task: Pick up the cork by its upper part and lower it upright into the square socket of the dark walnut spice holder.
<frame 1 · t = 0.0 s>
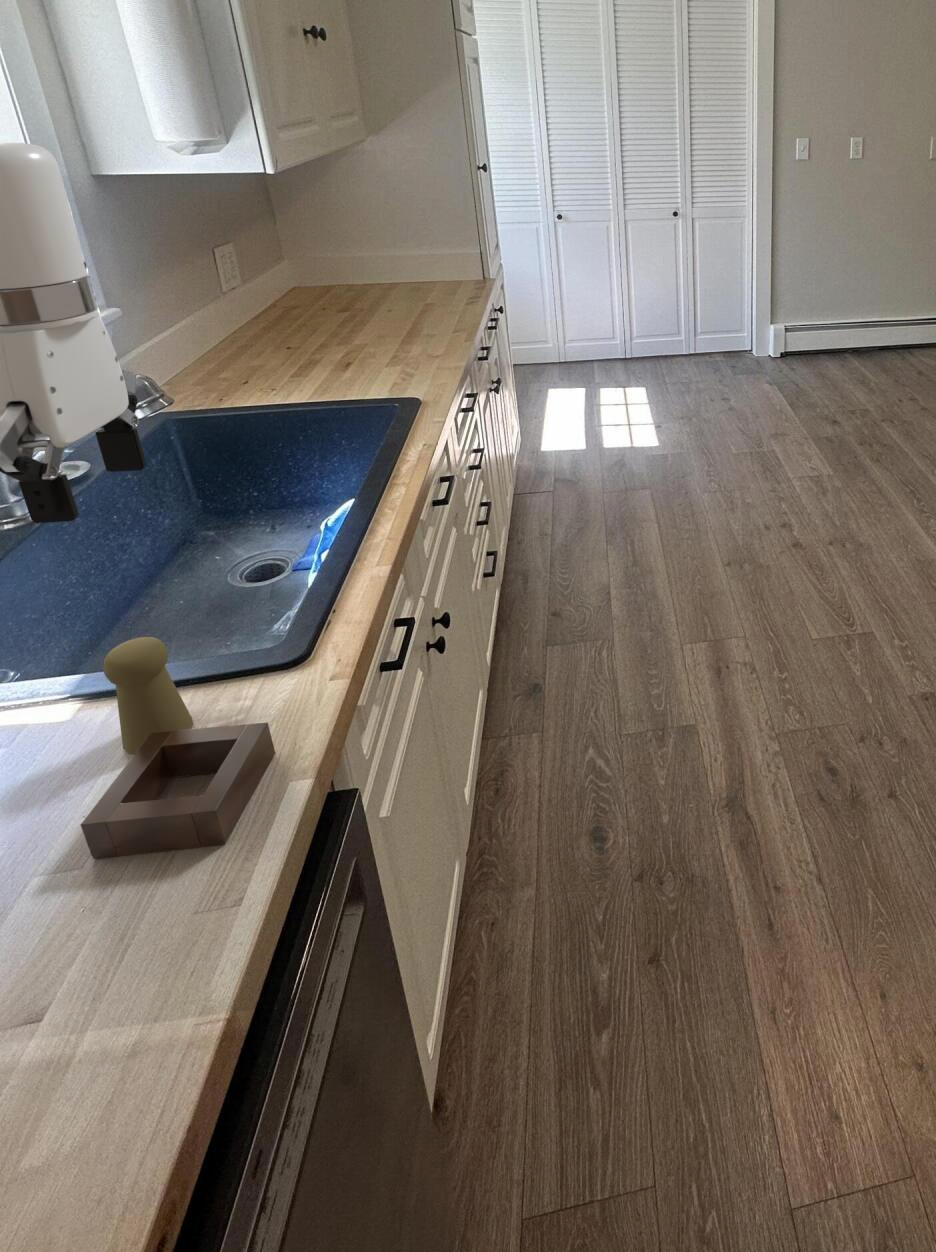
hand: (94, 493, 69), 30 cm above the counter, tool pointing down, fingers open, 9 cm apart
cork: (158, 734, 83), on the counter
spice holder: (191, 802, 75), on the counter
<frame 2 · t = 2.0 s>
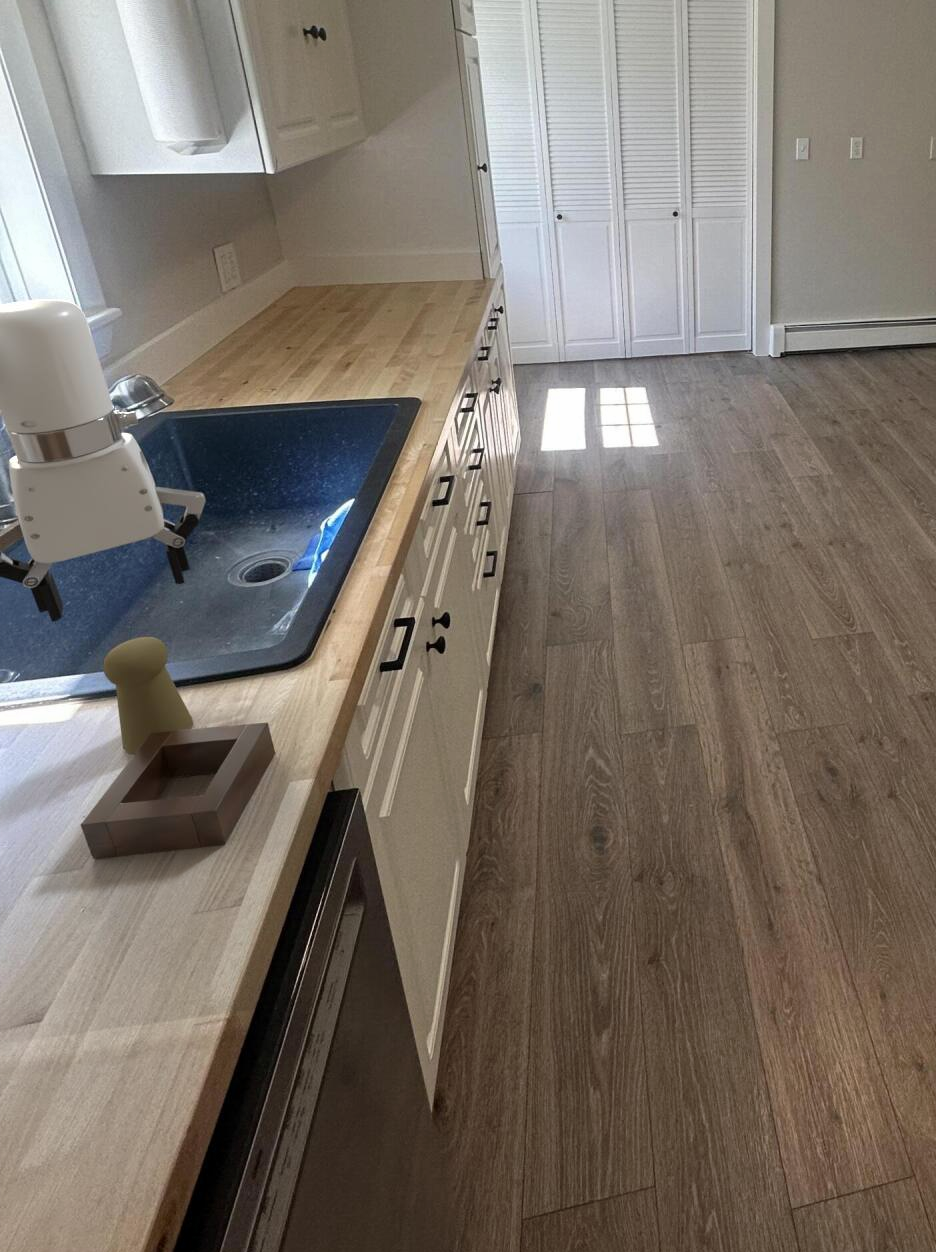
hand: (120, 595, 78), 17 cm above the counter, tool pointing down, fingers open, 9 cm apart
nothing on the counter moved.
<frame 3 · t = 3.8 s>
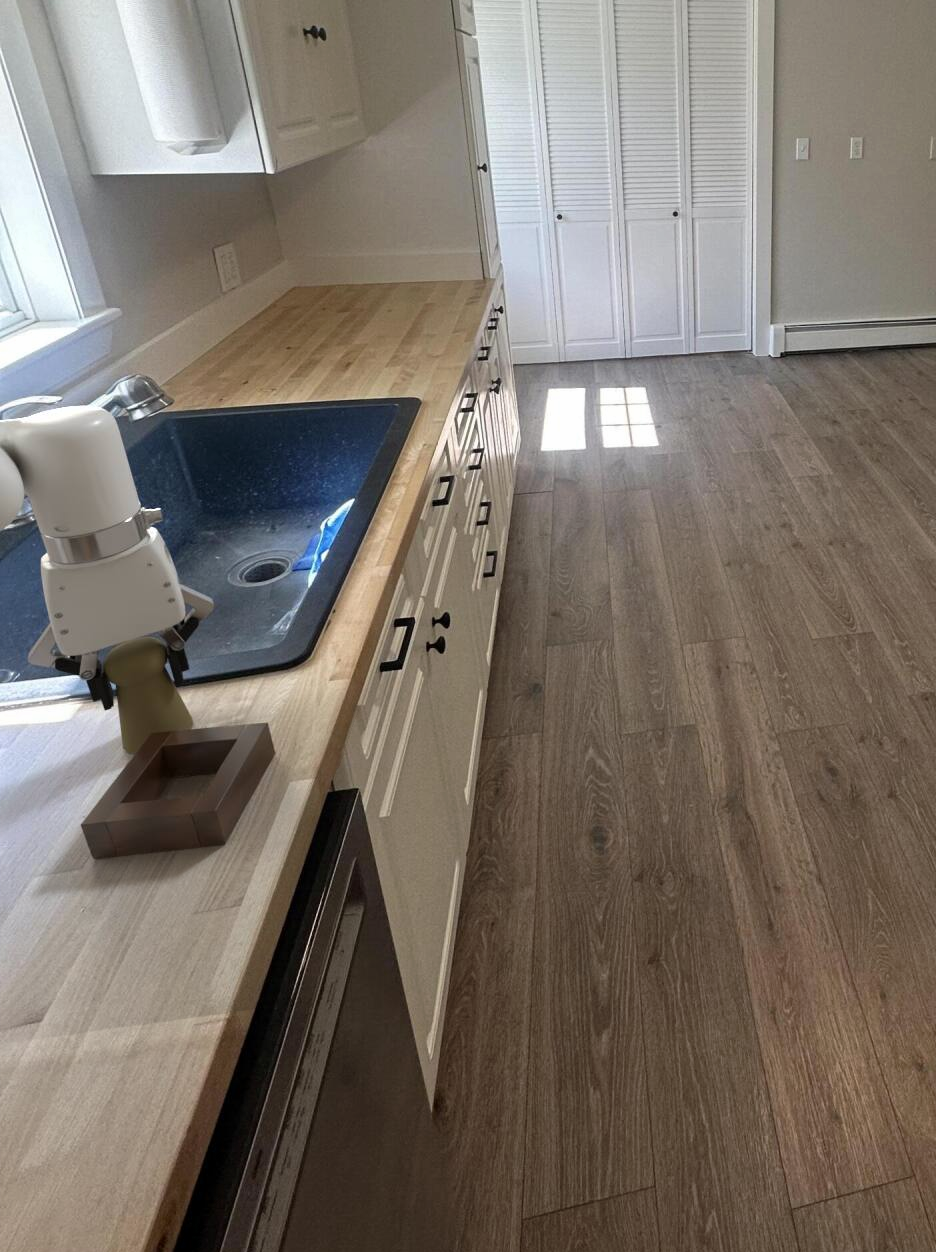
hand: (144, 688, 81), 6 cm above the counter, tool pointing down, fingers closed on cork, 5 cm apart
cork: (158, 734, 83), on the counter, touching gripper
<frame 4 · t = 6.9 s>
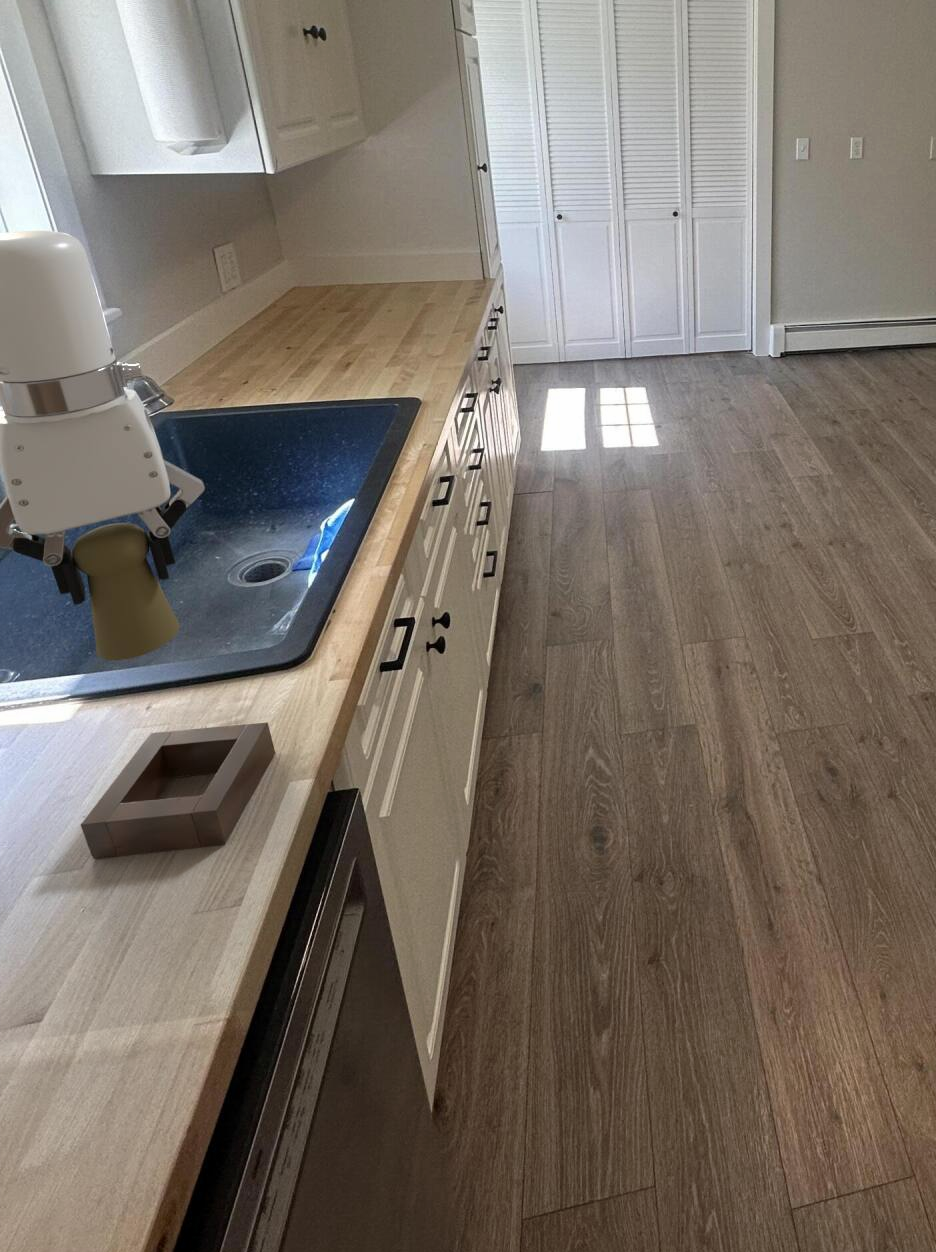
hand: (122, 582, 69), 23 cm above the counter, tool pointing down, fingers closed on cork, 5 cm apart
cork: (139, 640, 71), point 17 cm above the counter, touching gripper
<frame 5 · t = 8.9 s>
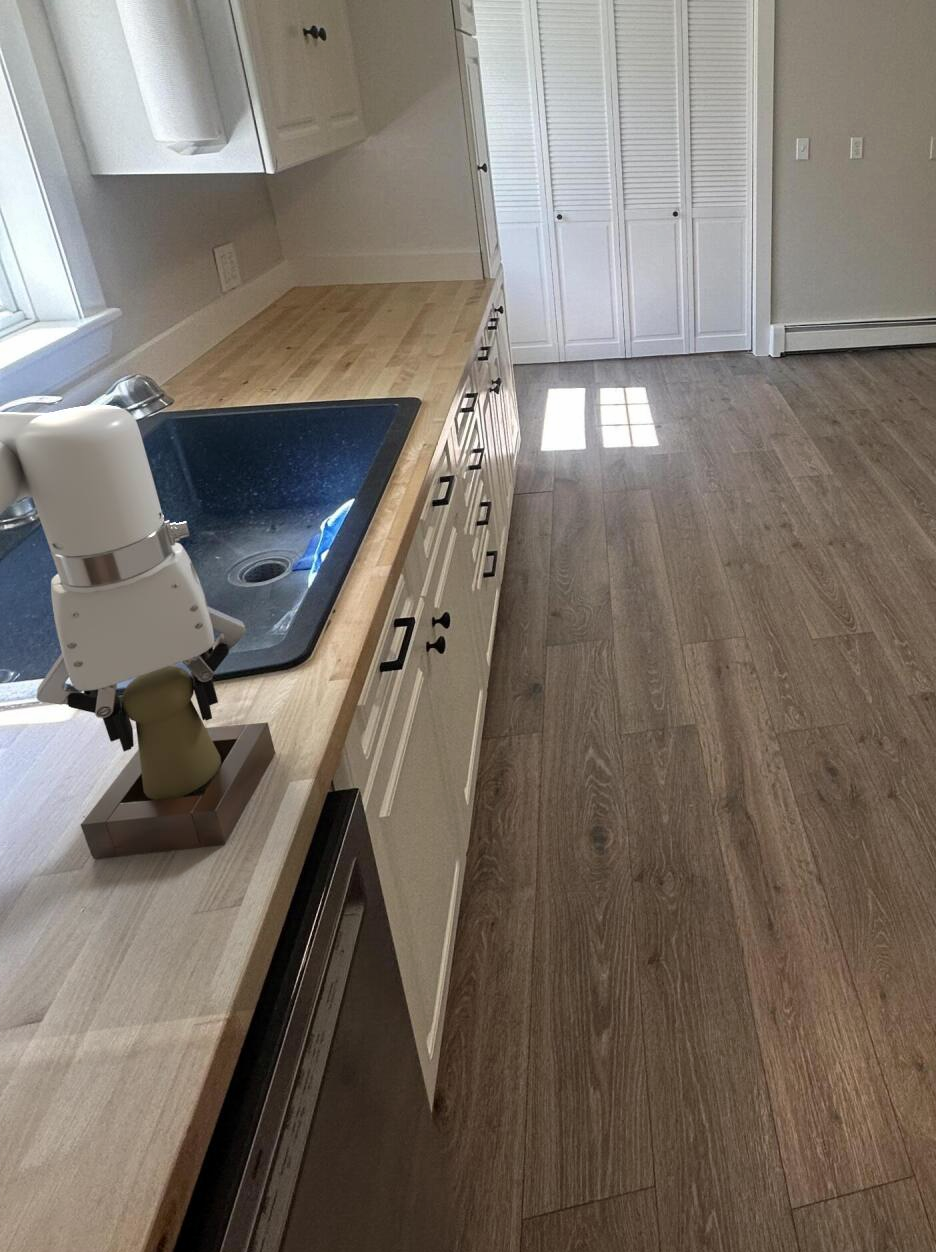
hand: (167, 724, 72), 9 cm above the counter, tool pointing down, fingers closed on cork, 5 cm apart
cork: (183, 775, 74), point 3 cm above the counter, touching gripper
when the fingers open (6 cm above the counter, at t = 10.4 s): cork stays where it is, resting in spice holder.
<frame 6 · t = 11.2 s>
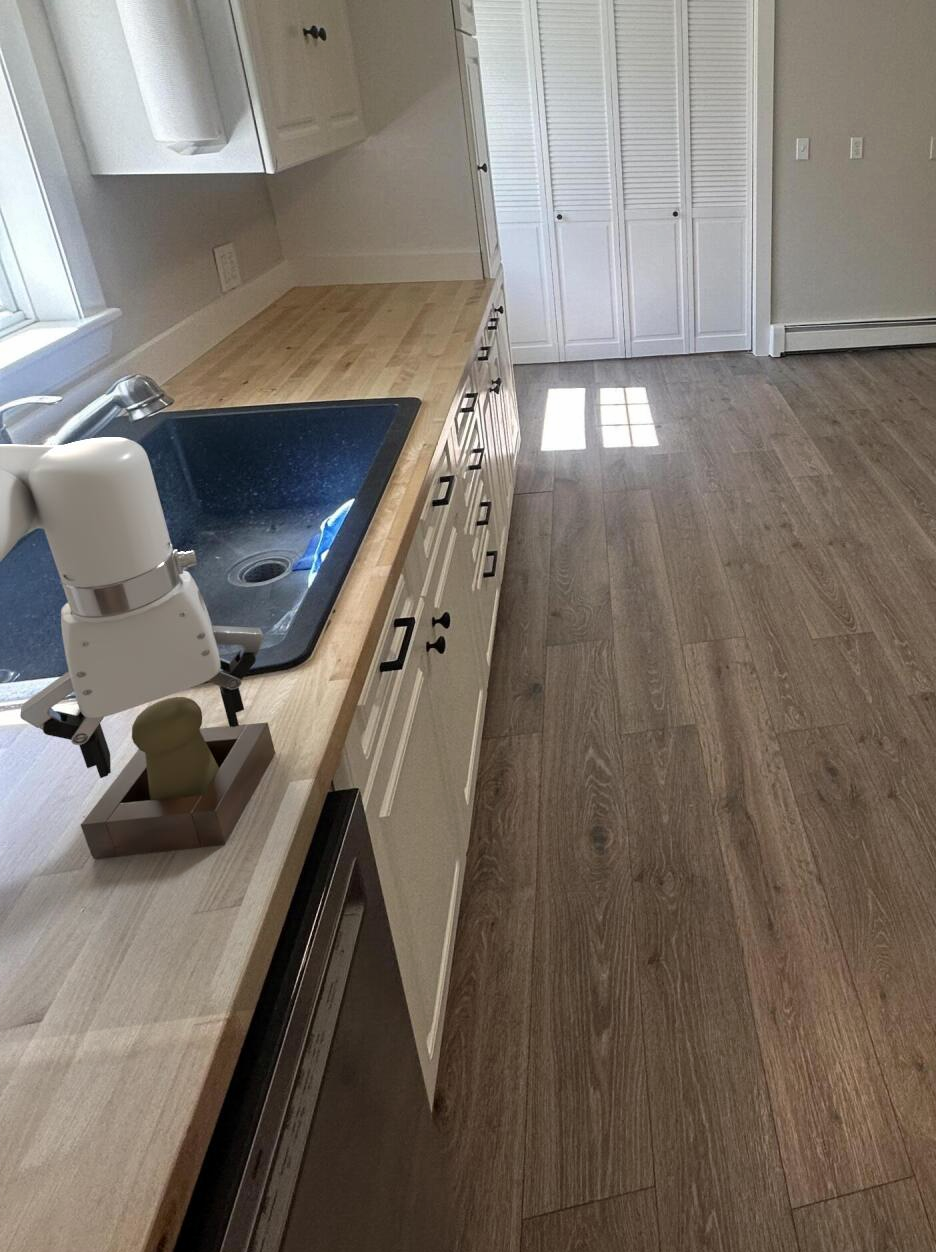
hand: (171, 741, 72), 7 cm above the counter, tool pointing down, fingers open, 9 cm apart
cork: (191, 804, 75), resting in spice holder
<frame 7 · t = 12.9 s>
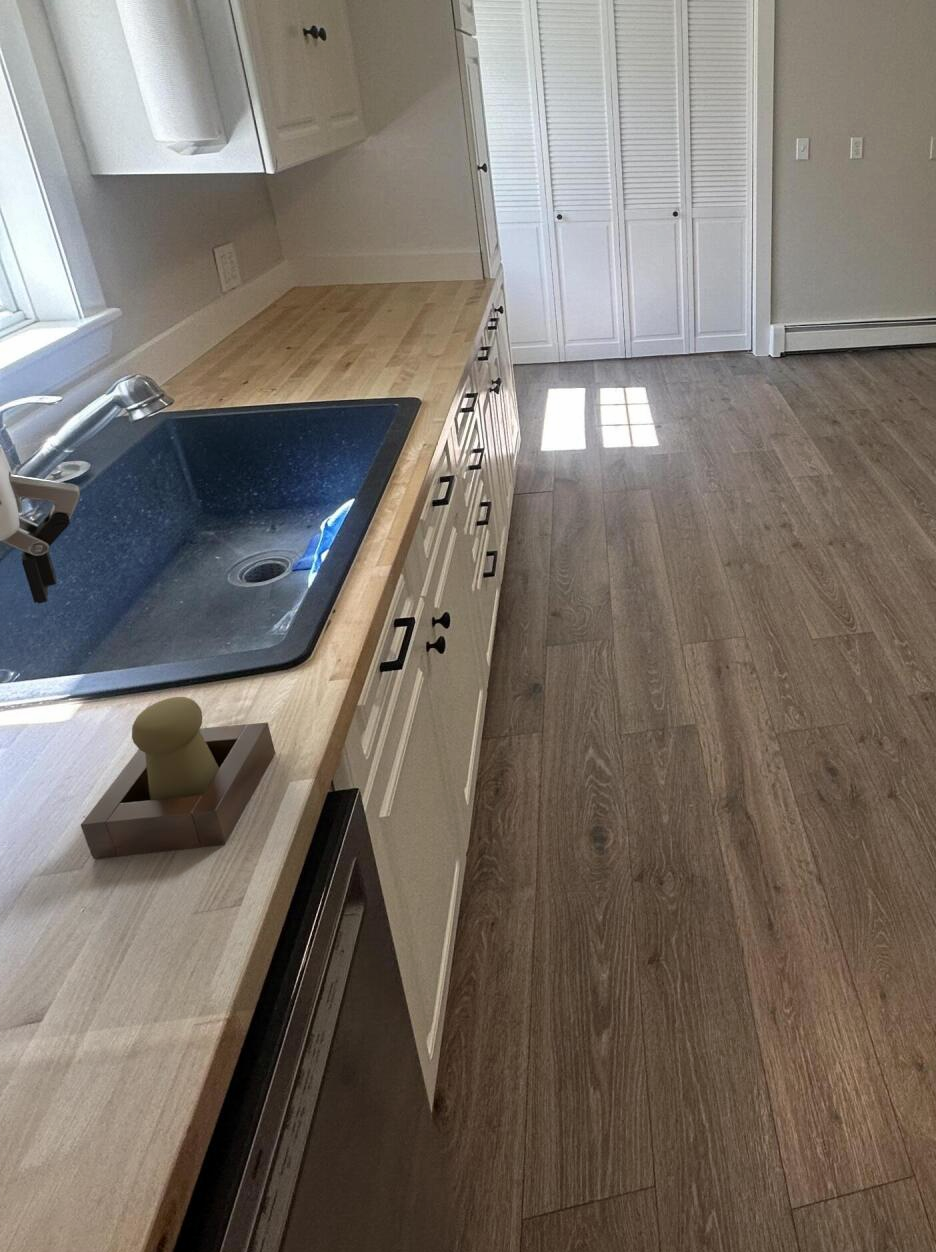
nothing on the counter moved.
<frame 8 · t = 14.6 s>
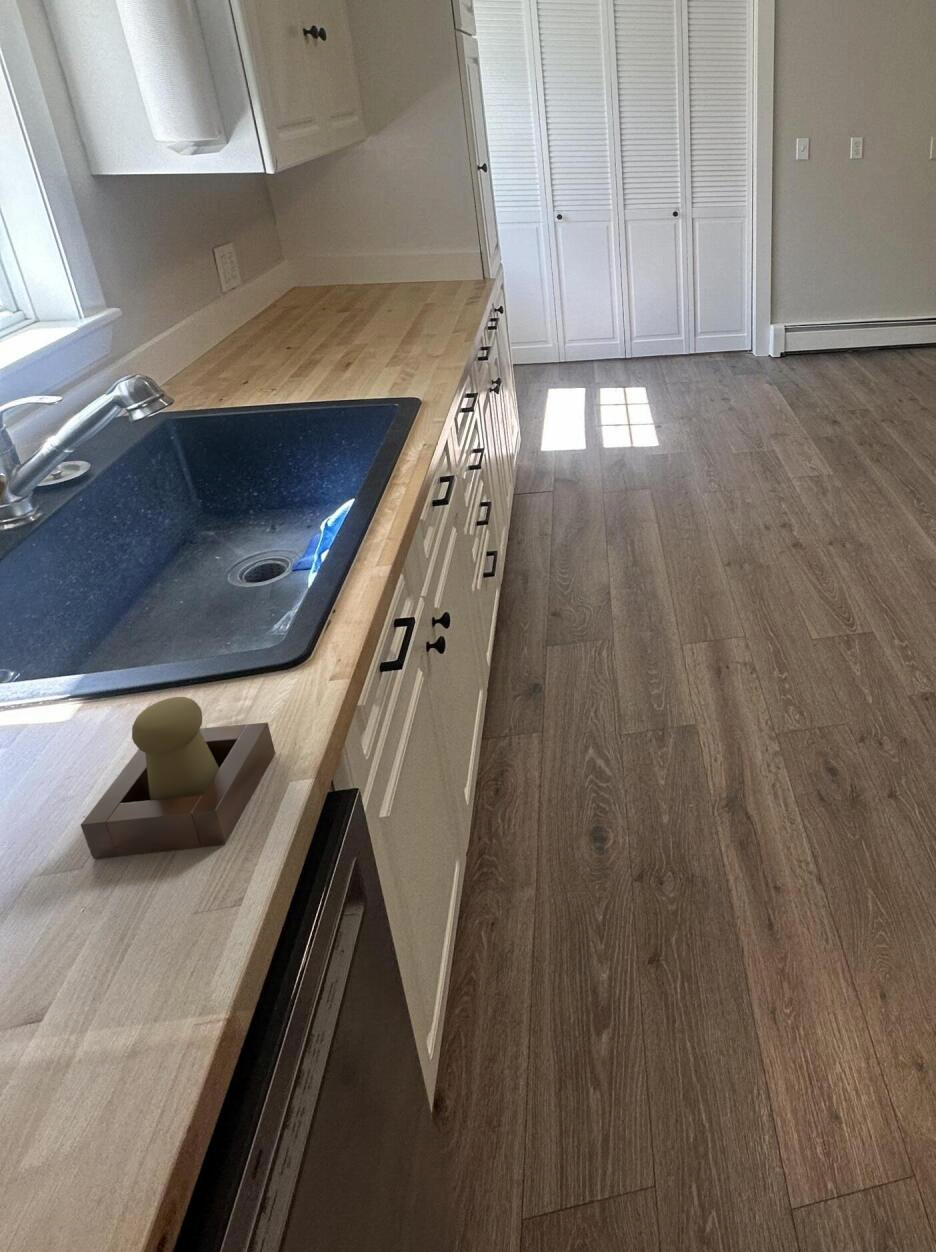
nothing on the counter moved.
at the end: cork 0.0 cm off-centre in the spice holder, point 0.0 cm above the spice holder's base; cork tilted 0°; the gripper is holding nothing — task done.
